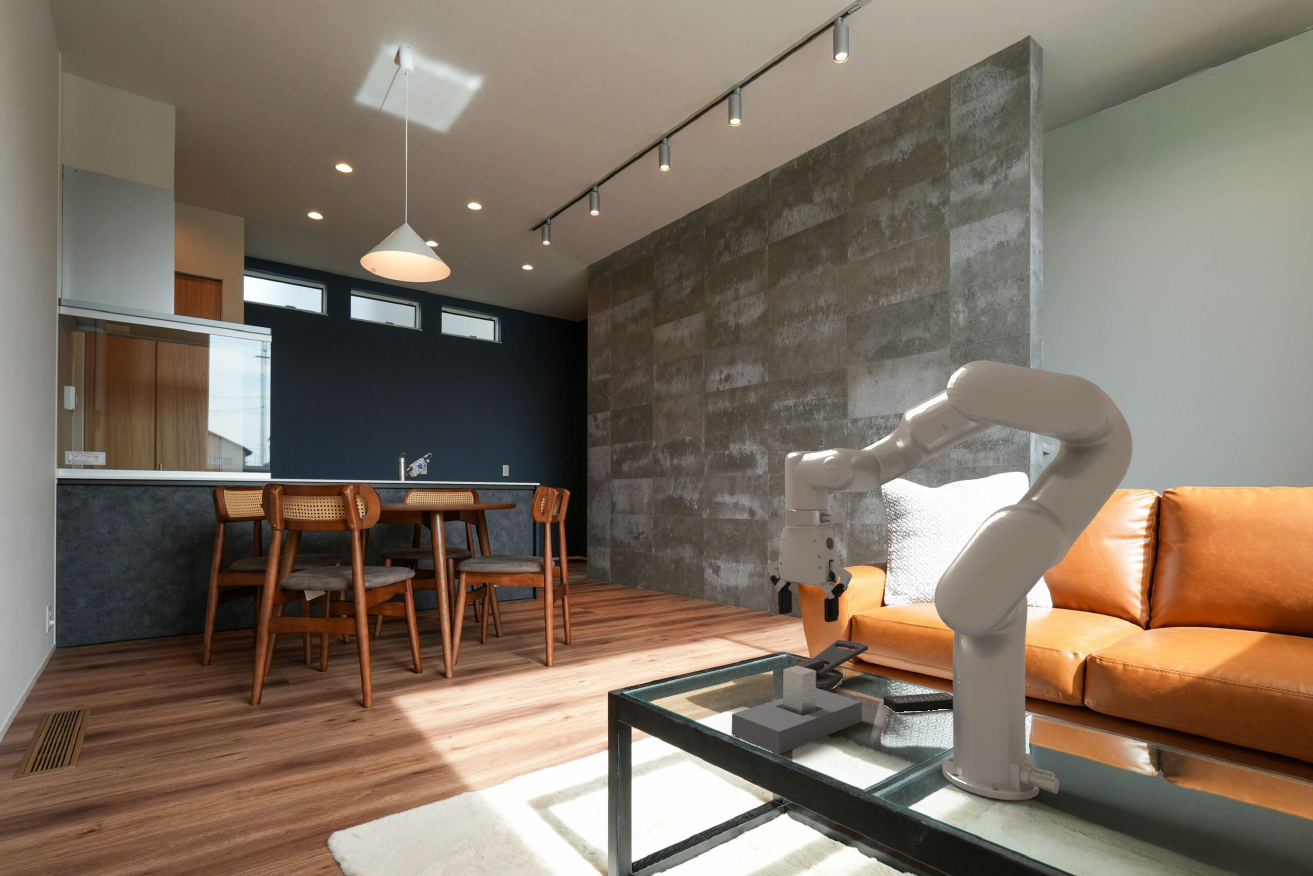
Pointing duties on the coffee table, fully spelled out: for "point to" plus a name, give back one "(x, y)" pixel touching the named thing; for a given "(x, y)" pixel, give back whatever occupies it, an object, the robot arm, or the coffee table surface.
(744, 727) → the grey block with hole
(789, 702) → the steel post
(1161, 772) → the coffee table surface
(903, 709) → the multiport hub
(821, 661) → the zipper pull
